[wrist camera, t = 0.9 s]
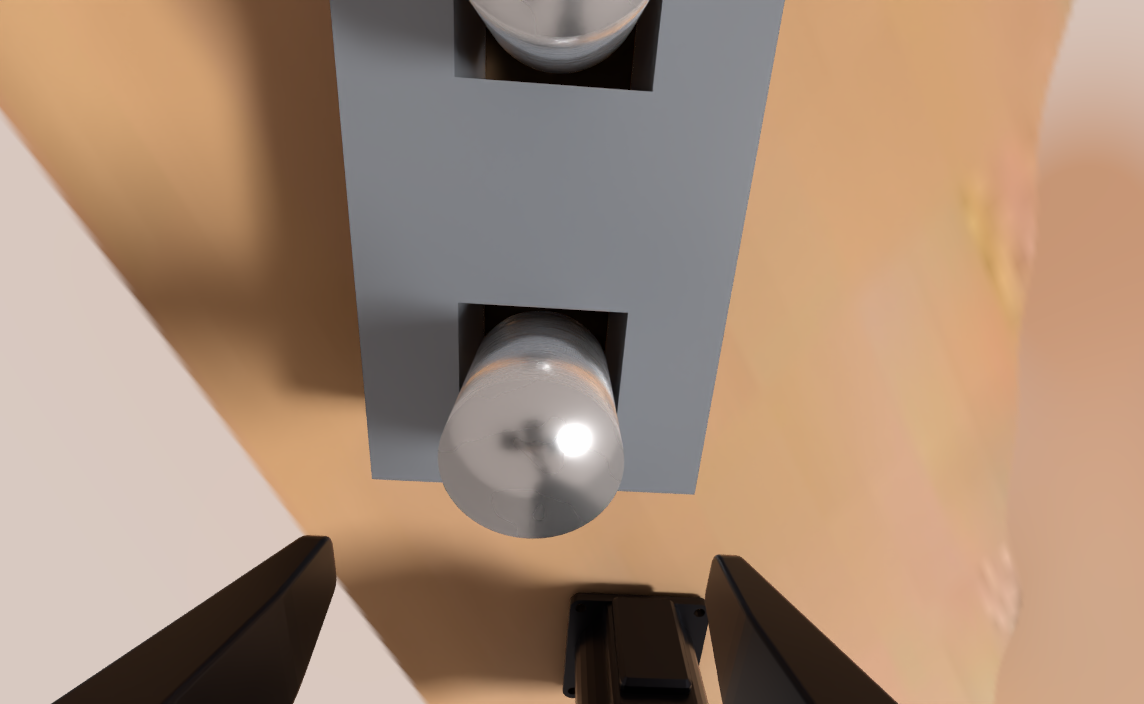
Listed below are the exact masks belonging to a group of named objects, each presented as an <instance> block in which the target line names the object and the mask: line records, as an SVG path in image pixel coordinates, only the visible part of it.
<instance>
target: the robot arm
mask: <svg viewBox="0 0 1144 704" xmlns="http://www.w3.org/2000/svg"><path fill="white" fill-rule="evenodd" d="M335 586H336V568H335V560H334V552H333V544H332V541H331V539H330V538H329V537H327V536H313V535H306V536H302V537H300V538H298V539H297V540H295V541H294V542H292V543H291V544H289V545H288V546H286V547H285V548H283V549H282V550H280V551H279V552H277V553H276V554H274V555H273V556H271V557H270V558H268V559H267V560H266V561H264V562H262V563H261V564H259V565H258V566H257V567H255V568H253V569H252V570H250V571H249V572H247V573H246V574H244V575H243V576H241V577H240V578H238V579H237V580H235V581H234V582H233V583H231V584H229V585H228V586H226V587H225V588H224V589H222V590H220V591H219V592H217V593H216V594H215V595H213V596H212V597H210V598H209V599H207V600H206V601H204V602H203V603H201V604H200V605H198V606H197V607H195V608H194V609H192V610H191V611H189V612H188V613H186V614H185V615H183V616H182V617H180V618H179V619H177V620H176V621H174V622H173V623H171V624H170V625H168V626H167V627H165V628H164V629H162V630H161V631H159V632H158V633H156V634H155V635H153V636H152V637H150V638H149V639H147V640H146V641H144V642H143V643H141V644H140V645H138V646H137V647H135V648H134V649H132V650H131V651H129V652H128V653H127V654H125V655H123V656H122V657H121V658H119V659H118V660H116V661H114V662H113V663H111V664H110V665H108V666H107V667H105V668H104V669H102V670H101V671H99V672H98V673H96V674H95V675H93V676H92V677H90V678H89V679H87V680H86V681H85V682H83V683H82V684H80V685H79V686H77V687H76V688H74V689H73V690H71V691H70V692H68V693H67V694H65V695H64V696H62V697H61V698H59V699H58V700H56V701H55V702H53V703H52V704H293V703H294V700H295V698H296V696H297V694H298V691H299V689H300V686H301V683H302V681H303V678H304V675H305V673H306V670H307V667H308V664H309V662H310V659H311V656H312V653H313V650H314V647H315V645H316V641H317V639H318V636H319V633H320V630H321V627H322V625H323V621H324V619H325V616H326V613H327V610H328V608H329V605H330V602H331V599H332V596H333V594H334V590H335ZM578 604H583V605H578ZM697 609H700V610H697ZM708 624H709V629H710V635H711V641H712V647H713V652H714V658H715V664H716V669H717V675H718V681H719V687H720V692H721V697H722V702H723V704H898V703H897V702H896V701H895V700H894V699H893V698H892V697H891V696H889V695H888V694H887V693H886V692H885V691H884V690H883V689H882V688H881V687H880V686H879V685H878V684H877V683H876V682H874V681H873V680H872V679H871V678H870V677H869V676H868V675H867V674H866V673H865V672H864V671H863V670H862V669H861V668H860V667H858V666H857V665H856V664H855V663H854V662H853V661H852V660H851V659H850V658H849V657H848V656H847V655H846V654H845V653H844V652H842V651H841V650H840V649H839V648H838V647H837V646H836V645H835V644H834V643H833V642H832V641H831V640H830V639H829V638H828V637H826V636H825V635H824V634H823V633H822V632H821V631H820V630H819V629H818V628H817V627H816V626H815V625H814V624H813V623H811V622H810V621H809V620H808V619H807V618H806V617H805V616H804V615H803V614H802V613H801V612H800V611H799V610H798V609H797V608H795V607H794V606H793V605H792V604H791V603H790V602H789V601H788V600H787V599H786V598H785V597H784V596H783V595H782V594H781V593H779V592H778V591H777V590H776V589H775V588H774V587H773V586H772V585H771V584H770V583H769V582H768V581H767V580H766V579H765V578H763V577H762V576H761V575H760V574H759V573H758V572H757V571H756V570H755V569H754V568H753V567H752V566H751V565H750V564H749V563H747V562H746V561H745V560H744V559H743V558H742V557H740V556H737V555H716V556H715V557H714V558H713V560H712V564H711V569H710V574H709V578H708V583H707V588H706V593H705V599H703V598H692V597H667V596H643V595H618V594H594V593H577V594H575V595H573V596H572V597H571V599H570V605H569V617H568V629H567V640H566V652H565V664H564V676H563V694H564V695H565V696H567V697H569V698H575V702H576V704H708V700H707V696H706V693H705V689H704V685H703V681H702V677H701V673H700V669H699V663H700V658H701V654H702V649H703V645H704V640H705V635H706V631H707V626H708Z"/></svg>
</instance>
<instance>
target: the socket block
mask: <svg viewBox="0 0 1144 704" xmlns="http://www.w3.org/2000/svg"><path fill="white" fill-rule="evenodd" d="M784 2H785V0H649V2H648V3H647V5H646V7H645V8H644V10H643V12H642V14H641V15H640V17H639V19H638V20H637V24H636V35H635V45H634V56H633V66H632V76H631V87H630V90H621V89H608V88H594V87H581V86H568V85H554V84H541V83H528V82H514V81H501V80H487V79H485V60H486V25H485V23H484V22H483V20H482V19H481V17H480V16H479V14H478V13H477V11H476V10H475V8H474V7H473V5H472V4H471V2H470V1H469V0H330V9H331V20H332V31H333V43H334V54H335V65H336V76H337V88H338V99H339V110H340V122H341V133H342V144H343V156H344V167H345V178H346V189H347V201H348V212H349V223H350V235H351V246H352V257H353V269H354V280H355V291H356V303H357V314H358V325H359V336H360V348H361V359H362V370H363V382H364V393H365V404H366V416H367V427H368V438H369V449H370V461H371V472H372V479H382V480H403V481H423V482H442V480H441V476H440V472H439V466H438V448H439V443H440V438H441V436H442V433H443V430H444V428H445V425H446V423H447V421H448V418H449V416H450V414H451V411H452V409H453V407H454V404H455V402H456V399H457V397H458V395H459V392H460V390H461V388H462V385H463V383H464V381H465V378H466V376H467V374H468V371H469V369H470V367H471V364H472V362H473V360H474V357H475V355H476V353H477V350H478V348H479V346H480V344H481V342H482V341H483V339H484V304H490V305H507V306H524V307H541V308H557V309H574V310H591V311H607V312H609V316H608V327H607V337H606V348H605V357H606V361H607V365H608V371H609V376H610V381H611V386H612V392H613V397H614V402H615V408H616V413H617V418H618V423H619V429H620V434H621V439H622V445H623V451H624V471H623V476H622V480H621V483H620V485H619V488H618V490H617V491H632V492H653V493H674V494H695V488H696V483H697V478H698V472H699V467H700V461H701V456H702V450H703V445H704V439H705V434H706V428H707V423H708V417H709V412H710V406H711V401H712V395H713V390H714V385H715V379H716V374H717V368H718V363H719V357H720V352H721V346H722V341H723V335H724V330H725V324H726V319H727V313H728V308H729V303H730V297H731V292H732V286H733V281H734V275H735V270H736V264H737V259H738V253H739V248H740V242H741V237H742V231H743V226H744V220H745V215H746V210H747V204H748V199H749V193H750V188H751V182H752V177H753V171H754V166H755V160H756V155H757V149H758V144H759V138H760V133H761V128H762V122H763V117H764V111H765V106H766V100H767V95H768V89H769V84H770V78H771V73H772V67H773V62H774V56H775V51H776V45H777V40H778V35H779V29H780V24H781V18H782V13H783V7H784Z"/></svg>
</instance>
